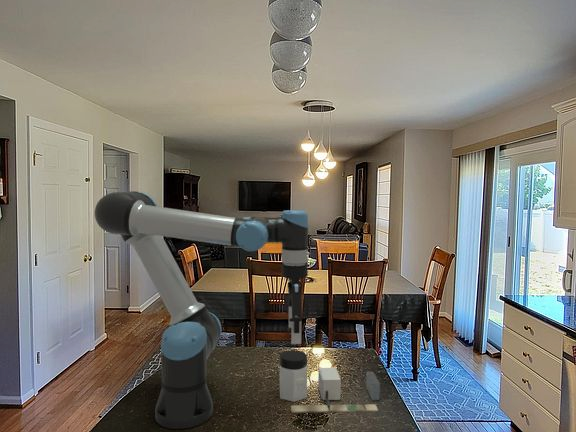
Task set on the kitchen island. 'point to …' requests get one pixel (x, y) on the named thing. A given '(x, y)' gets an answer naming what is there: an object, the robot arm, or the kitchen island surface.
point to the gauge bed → (333, 408)
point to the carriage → (329, 384)
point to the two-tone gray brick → (373, 385)
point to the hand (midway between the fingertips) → (294, 335)
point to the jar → (293, 375)
